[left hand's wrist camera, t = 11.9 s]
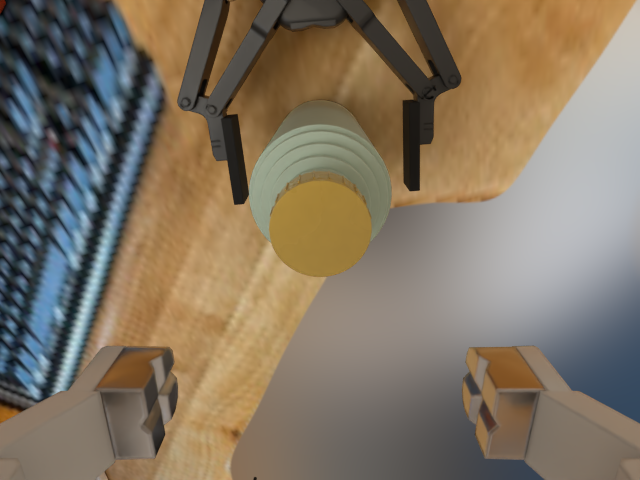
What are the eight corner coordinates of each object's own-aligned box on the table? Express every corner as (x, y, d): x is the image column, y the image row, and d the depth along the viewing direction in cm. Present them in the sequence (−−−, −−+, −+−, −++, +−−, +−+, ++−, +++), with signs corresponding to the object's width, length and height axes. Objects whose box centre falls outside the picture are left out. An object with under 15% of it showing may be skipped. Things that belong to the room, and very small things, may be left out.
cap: (319, 148, 20) (319, 156, 18) (388, 216, 21) (394, 229, 19) (251, 218, 21) (246, 231, 19) (321, 279, 22) (321, 296, 21)
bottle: (319, 80, 38) (318, 97, 18) (380, 143, 40) (444, 226, 20) (259, 145, 40) (196, 229, 20) (320, 202, 42) (321, 333, 22)
